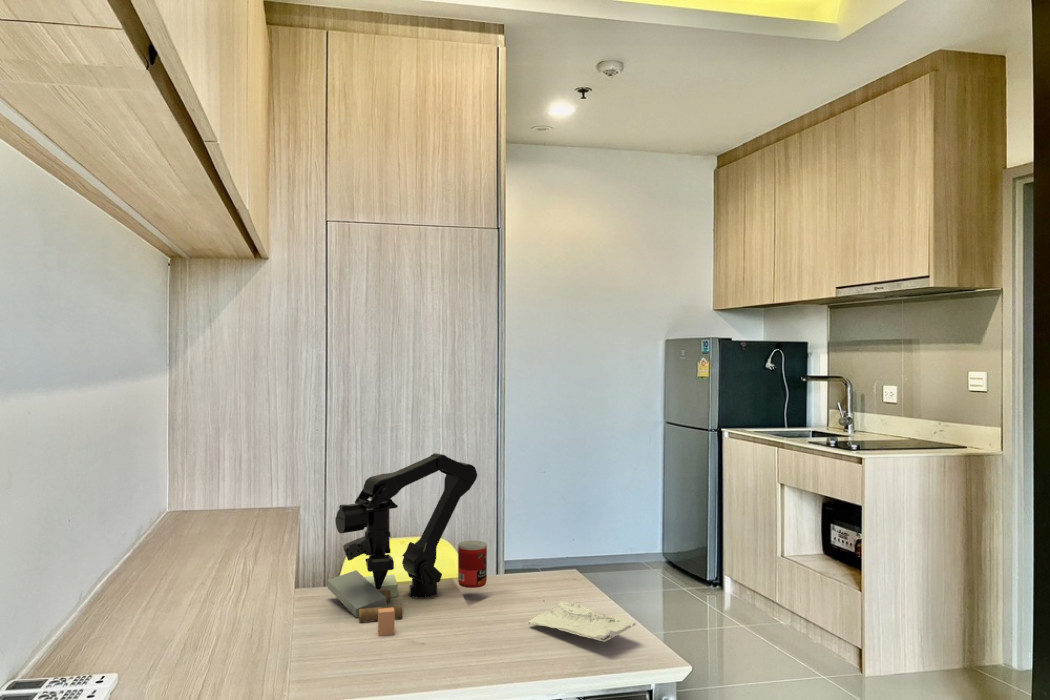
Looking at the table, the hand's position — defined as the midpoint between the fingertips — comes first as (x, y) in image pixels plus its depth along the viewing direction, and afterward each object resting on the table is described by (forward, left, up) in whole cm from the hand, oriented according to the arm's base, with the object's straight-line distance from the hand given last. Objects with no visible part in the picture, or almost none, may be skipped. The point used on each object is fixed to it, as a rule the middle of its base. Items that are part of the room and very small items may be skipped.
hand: (378, 589), depth 179 cm
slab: (+5, -1, -2) cm, 6 cm away
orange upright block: (0, +19, -4) cm, 20 cm away
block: (0, -9, -4) cm, 10 cm away
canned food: (-26, -10, -4) cm, 28 cm away
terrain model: (-45, +26, -5) cm, 52 cm away
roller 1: (+2, -4, -2) cm, 5 cm away
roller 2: (0, +11, -4) cm, 11 cm away
